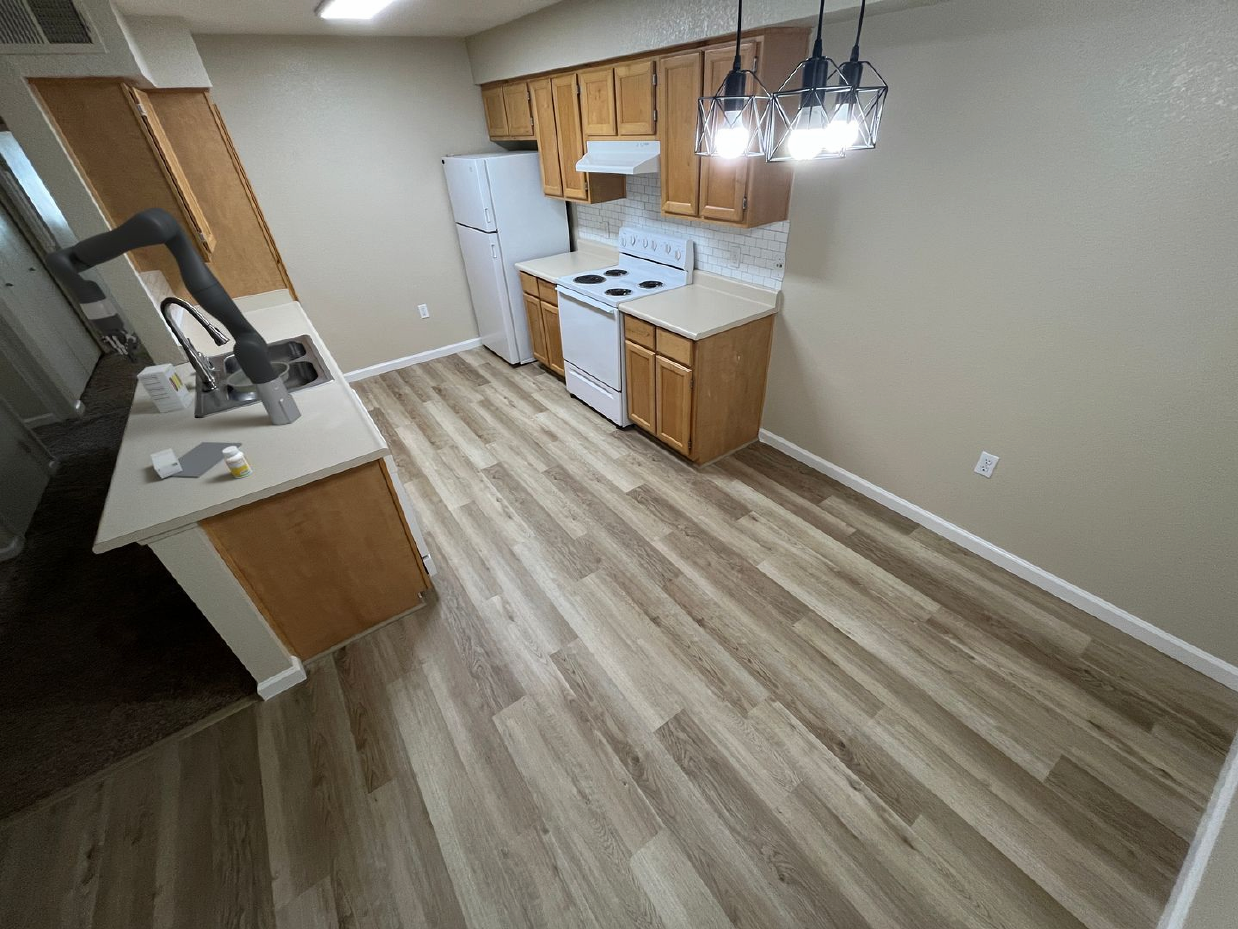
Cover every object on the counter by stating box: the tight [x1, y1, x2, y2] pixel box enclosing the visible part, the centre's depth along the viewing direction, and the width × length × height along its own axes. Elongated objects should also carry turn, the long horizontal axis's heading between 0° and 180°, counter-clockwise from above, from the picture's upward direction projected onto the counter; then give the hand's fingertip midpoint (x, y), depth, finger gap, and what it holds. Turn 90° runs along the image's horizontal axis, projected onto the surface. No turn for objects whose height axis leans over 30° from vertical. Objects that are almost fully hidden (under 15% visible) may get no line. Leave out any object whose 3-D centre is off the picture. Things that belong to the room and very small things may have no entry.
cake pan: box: [225, 361, 290, 394], centre depth 226 cm, size 25×25×4 cm
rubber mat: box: [155, 441, 243, 479], centre depth 176 cm, size 16×20×1 cm
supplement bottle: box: [222, 446, 254, 479], centre depth 165 cm, size 5×5×10 cm
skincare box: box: [150, 447, 183, 480], centre depth 170 cm, size 6×4×12 cm
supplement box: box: [136, 363, 194, 414], centre depth 207 cm, size 10×9×17 cm
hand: (134, 363), depth 177 cm, fingers closed
